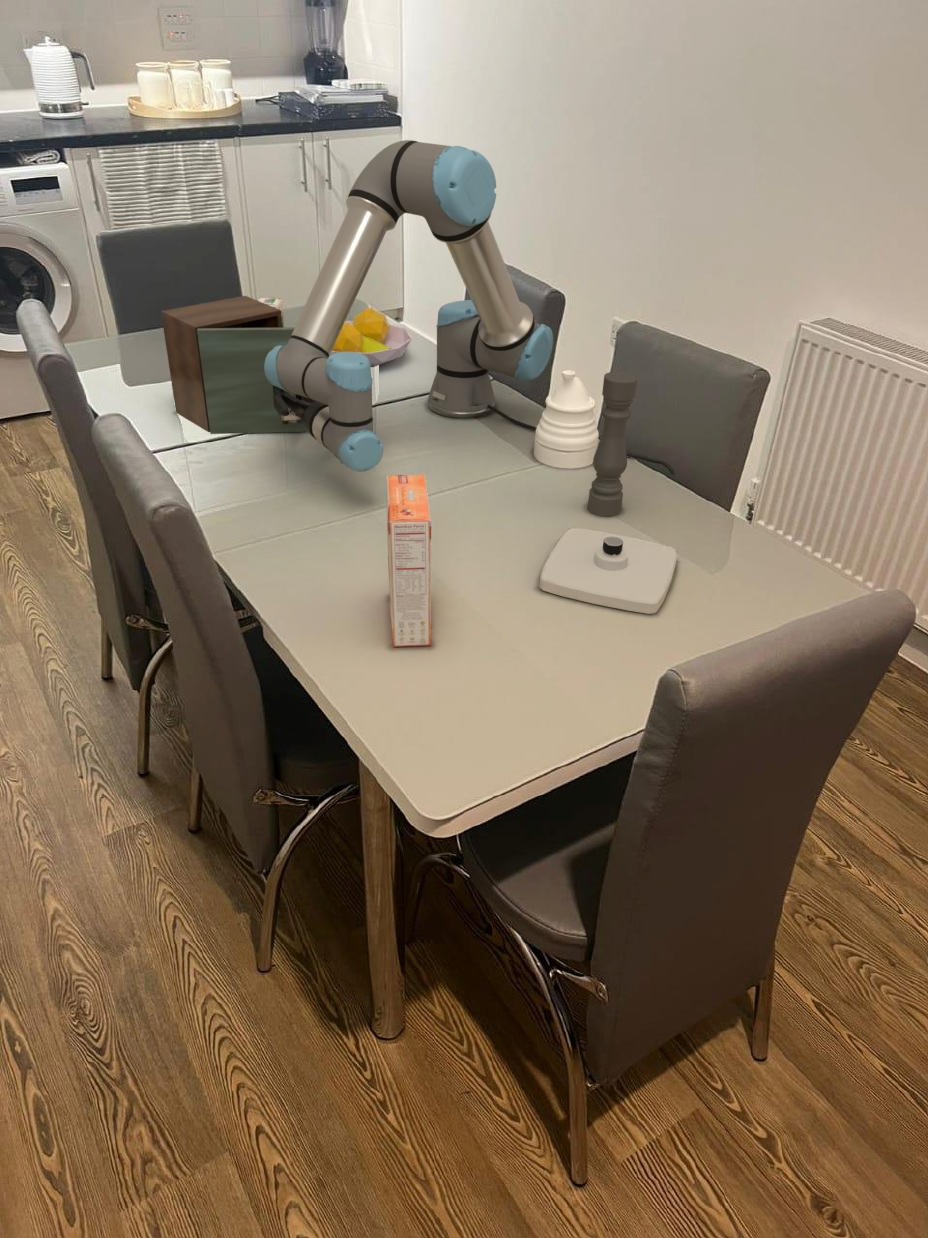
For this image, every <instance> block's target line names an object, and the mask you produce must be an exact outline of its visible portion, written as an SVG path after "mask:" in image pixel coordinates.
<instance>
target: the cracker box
mask: <svg viewBox="0 0 928 1238" xmlns="http://www.w3.org/2000/svg"><path fill="white" fill-rule="evenodd" d="M429 501H430V500H429V493H428V487H427V478H426V474H406V475H405V474H391V475H386V529H387V530H386V535H387V536H386V537H387V565H388V569H387V570H388V592H389V594H388V595H389V611H390V612H389V613H390V624H391V625H390V627H391V639H392V647H394V648H398V647H399V648H400V647H427V646H429V647H430V646H432V518H431V510H430V509H431V508H430V502H429Z"/></svg>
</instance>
